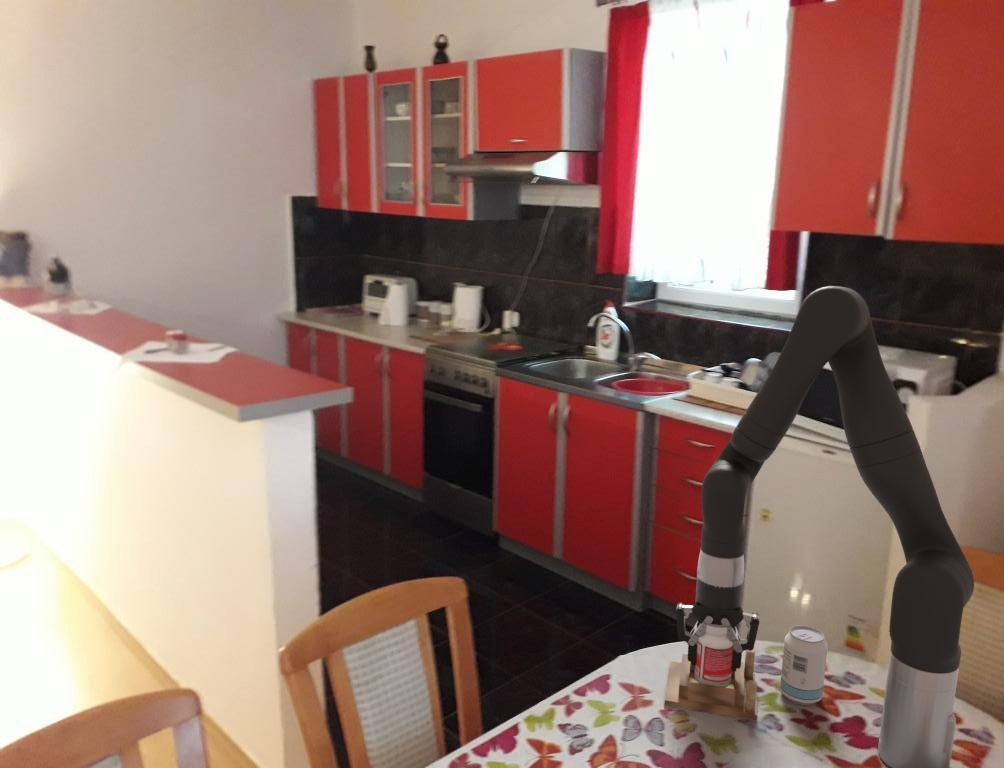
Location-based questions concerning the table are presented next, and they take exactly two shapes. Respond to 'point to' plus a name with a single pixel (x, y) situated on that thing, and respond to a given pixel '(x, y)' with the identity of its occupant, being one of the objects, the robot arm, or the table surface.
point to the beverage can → (803, 665)
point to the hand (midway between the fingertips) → (713, 665)
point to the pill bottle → (714, 657)
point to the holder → (713, 690)
